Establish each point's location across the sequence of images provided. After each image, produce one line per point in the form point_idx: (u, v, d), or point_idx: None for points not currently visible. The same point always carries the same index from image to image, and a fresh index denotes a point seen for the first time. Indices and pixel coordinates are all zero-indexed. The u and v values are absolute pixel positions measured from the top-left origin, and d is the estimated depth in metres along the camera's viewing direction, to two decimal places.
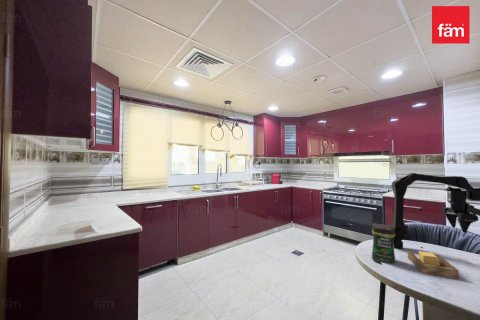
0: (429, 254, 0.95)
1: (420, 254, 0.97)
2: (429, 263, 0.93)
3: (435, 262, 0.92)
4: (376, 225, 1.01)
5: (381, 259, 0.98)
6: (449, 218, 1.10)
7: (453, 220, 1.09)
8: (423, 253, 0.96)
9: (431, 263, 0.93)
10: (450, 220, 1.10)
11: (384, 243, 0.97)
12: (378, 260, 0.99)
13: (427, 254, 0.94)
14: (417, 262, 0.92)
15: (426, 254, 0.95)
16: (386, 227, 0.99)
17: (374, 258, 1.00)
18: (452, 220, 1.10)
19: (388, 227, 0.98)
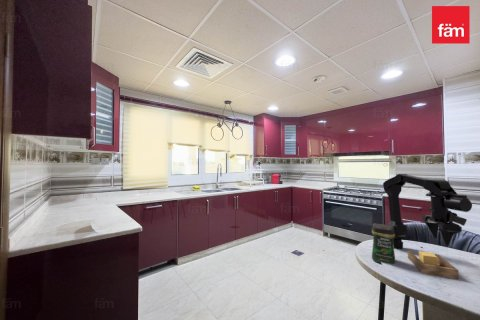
0: (429, 254, 0.95)
1: (420, 254, 0.97)
2: (429, 263, 0.93)
3: (435, 262, 0.92)
4: (376, 225, 1.01)
5: (381, 259, 0.98)
6: (430, 227, 0.97)
7: (435, 230, 0.96)
8: (423, 253, 0.96)
9: (431, 263, 0.93)
10: (431, 230, 0.97)
11: (384, 243, 0.97)
12: (378, 260, 0.99)
13: (427, 254, 0.94)
14: (417, 262, 0.92)
15: (426, 254, 0.95)
16: (386, 227, 0.99)
17: (374, 258, 1.00)
18: (434, 230, 0.97)
19: (388, 227, 0.98)
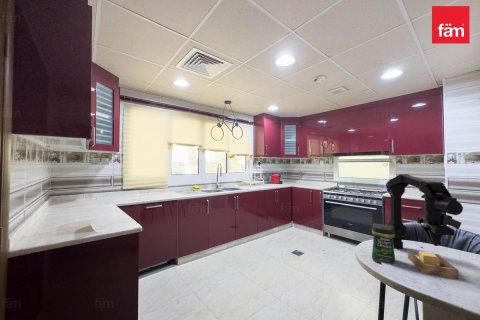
0: (429, 254, 0.95)
1: (420, 254, 0.97)
2: (429, 263, 0.93)
3: (435, 262, 0.92)
4: (376, 225, 1.01)
5: (381, 259, 0.98)
6: (428, 232, 0.91)
7: None
8: (423, 253, 0.96)
9: (431, 263, 0.93)
10: (429, 235, 0.91)
11: (384, 243, 0.97)
12: (378, 260, 0.99)
13: (427, 254, 0.94)
14: (417, 262, 0.92)
15: (426, 254, 0.95)
16: (386, 227, 0.99)
17: (374, 258, 1.00)
18: None
19: (388, 227, 0.98)
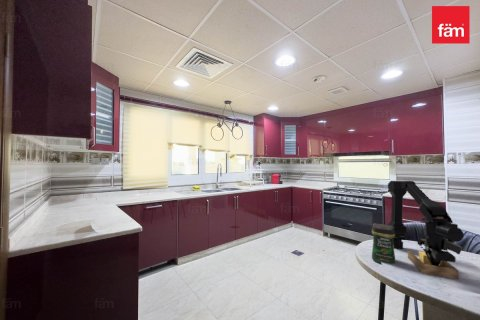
0: None
1: (420, 254, 0.97)
2: (429, 263, 0.93)
3: None
4: (376, 225, 1.01)
5: (381, 259, 0.98)
6: None
7: None
8: (423, 253, 0.96)
9: None
10: None
11: (384, 243, 0.97)
12: (378, 260, 0.99)
13: None
14: (417, 262, 0.92)
15: None
16: (386, 227, 0.99)
17: (374, 258, 1.00)
18: None
19: (388, 227, 0.98)
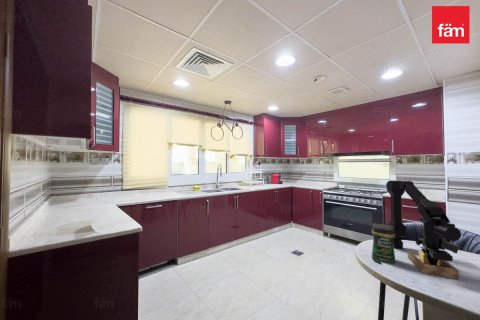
0: None
1: (420, 254, 0.97)
2: None
3: None
4: (376, 225, 1.01)
5: (381, 259, 0.98)
6: None
7: None
8: (423, 253, 0.96)
9: None
10: None
11: (384, 243, 0.97)
12: (378, 260, 0.99)
13: None
14: (417, 262, 0.92)
15: None
16: (386, 227, 0.99)
17: (374, 258, 1.00)
18: None
19: (388, 227, 0.98)
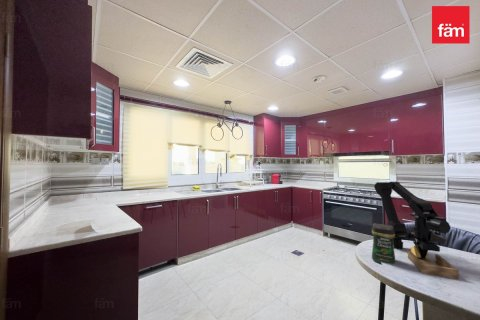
0: None
1: (411, 248, 1.06)
2: None
3: None
4: (376, 225, 1.01)
5: (381, 259, 0.98)
6: None
7: None
8: None
9: None
10: None
11: (384, 243, 0.97)
12: (378, 260, 0.99)
13: None
14: (417, 262, 0.92)
15: None
16: (386, 227, 0.99)
17: (374, 258, 1.00)
18: None
19: (388, 227, 0.98)
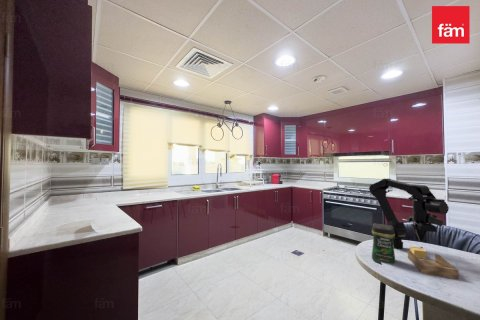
0: (419, 248, 1.04)
1: (411, 249, 1.06)
2: (419, 257, 1.02)
3: (424, 256, 1.01)
4: (376, 225, 1.01)
5: (381, 259, 0.98)
6: None
7: None
8: (414, 248, 1.05)
9: (421, 257, 1.02)
10: None
11: (384, 243, 0.97)
12: (378, 260, 0.99)
13: (417, 249, 1.03)
14: (417, 262, 0.92)
15: (416, 249, 1.04)
16: (386, 227, 0.99)
17: (374, 258, 1.00)
18: None
19: (388, 227, 0.98)
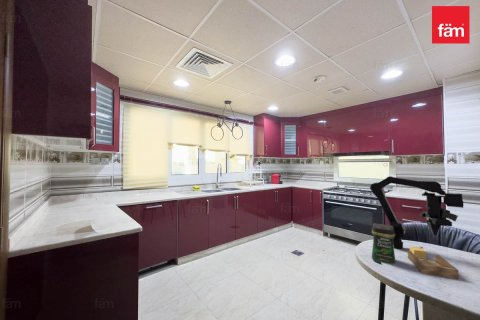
0: (419, 248, 1.04)
1: (411, 249, 1.06)
2: (419, 257, 1.02)
3: (424, 256, 1.01)
4: (376, 225, 1.01)
5: (381, 259, 0.98)
6: None
7: None
8: (413, 248, 1.05)
9: (421, 257, 1.02)
10: None
11: (384, 243, 0.97)
12: (378, 260, 0.99)
13: (417, 249, 1.03)
14: (417, 262, 0.92)
15: (416, 249, 1.04)
16: (386, 227, 0.99)
17: (374, 258, 1.00)
18: None
19: (388, 227, 0.98)
